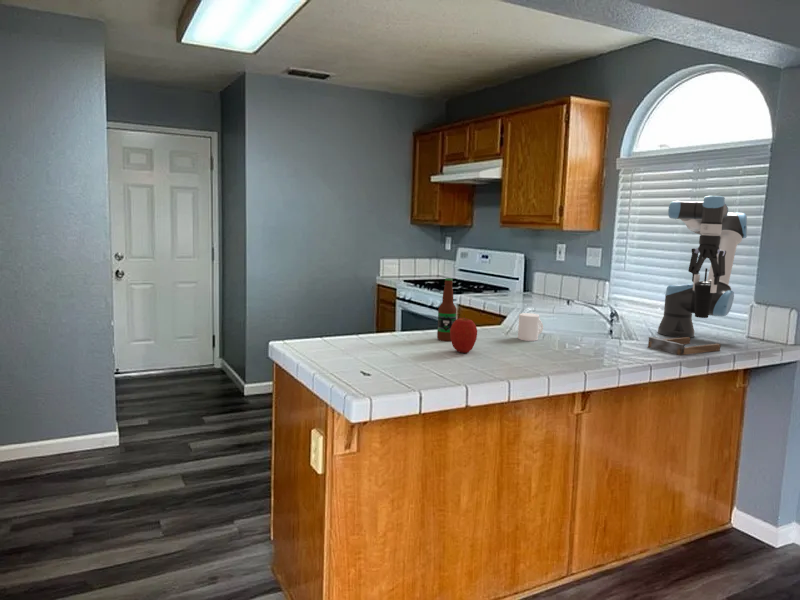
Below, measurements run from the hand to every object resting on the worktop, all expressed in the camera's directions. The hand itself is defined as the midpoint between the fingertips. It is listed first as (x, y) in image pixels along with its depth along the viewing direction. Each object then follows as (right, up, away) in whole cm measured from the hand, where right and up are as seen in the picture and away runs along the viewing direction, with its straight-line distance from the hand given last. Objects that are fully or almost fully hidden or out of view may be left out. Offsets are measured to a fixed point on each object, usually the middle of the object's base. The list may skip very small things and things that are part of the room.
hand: (704, 291), depth 242 cm
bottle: (-105, -20, +1) cm, 107 cm away
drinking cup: (0, -11, +2) cm, 11 cm away
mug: (-69, -20, +9) cm, 72 cm away
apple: (-100, -23, -21) cm, 105 cm away
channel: (-9, -23, -1) cm, 25 cm away
